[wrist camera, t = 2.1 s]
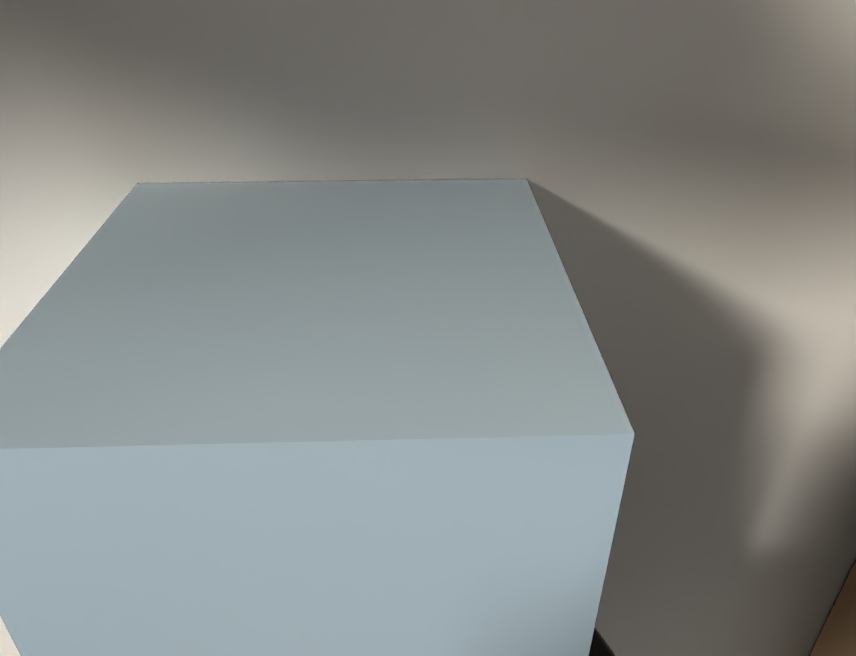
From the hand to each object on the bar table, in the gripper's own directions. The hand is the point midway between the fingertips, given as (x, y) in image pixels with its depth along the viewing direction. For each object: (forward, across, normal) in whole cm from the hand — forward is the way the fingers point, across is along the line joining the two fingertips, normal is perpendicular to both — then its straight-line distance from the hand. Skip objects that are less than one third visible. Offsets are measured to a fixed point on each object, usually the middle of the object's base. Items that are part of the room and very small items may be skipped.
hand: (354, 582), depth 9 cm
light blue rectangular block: (+1, 0, 0) cm, 1 cm away
